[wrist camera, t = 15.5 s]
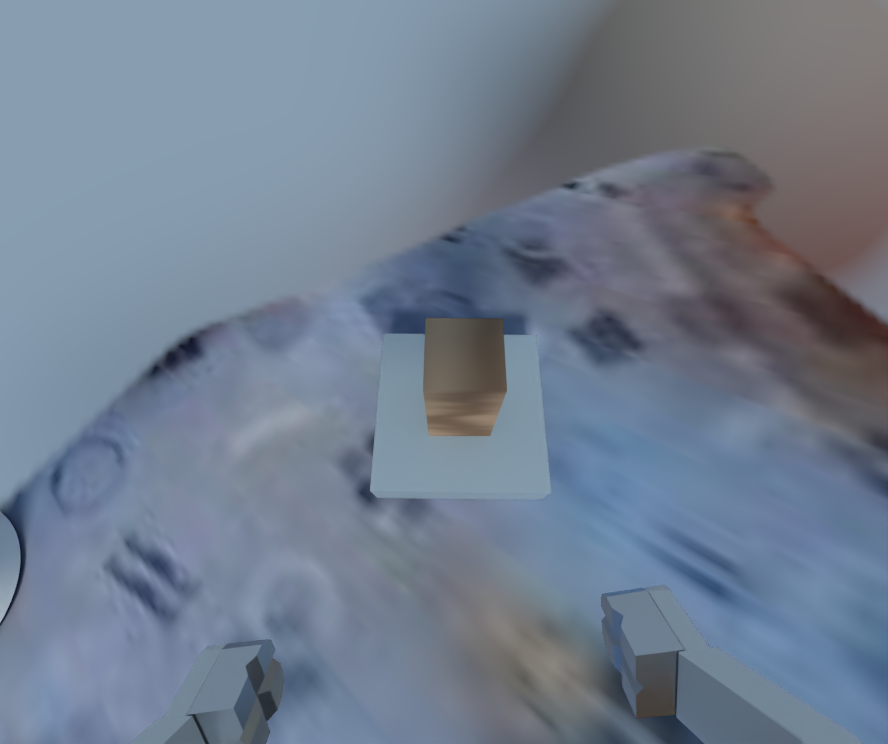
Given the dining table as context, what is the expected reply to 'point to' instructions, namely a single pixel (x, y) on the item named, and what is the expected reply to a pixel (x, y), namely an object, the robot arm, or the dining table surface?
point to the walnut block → (463, 375)
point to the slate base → (458, 457)
